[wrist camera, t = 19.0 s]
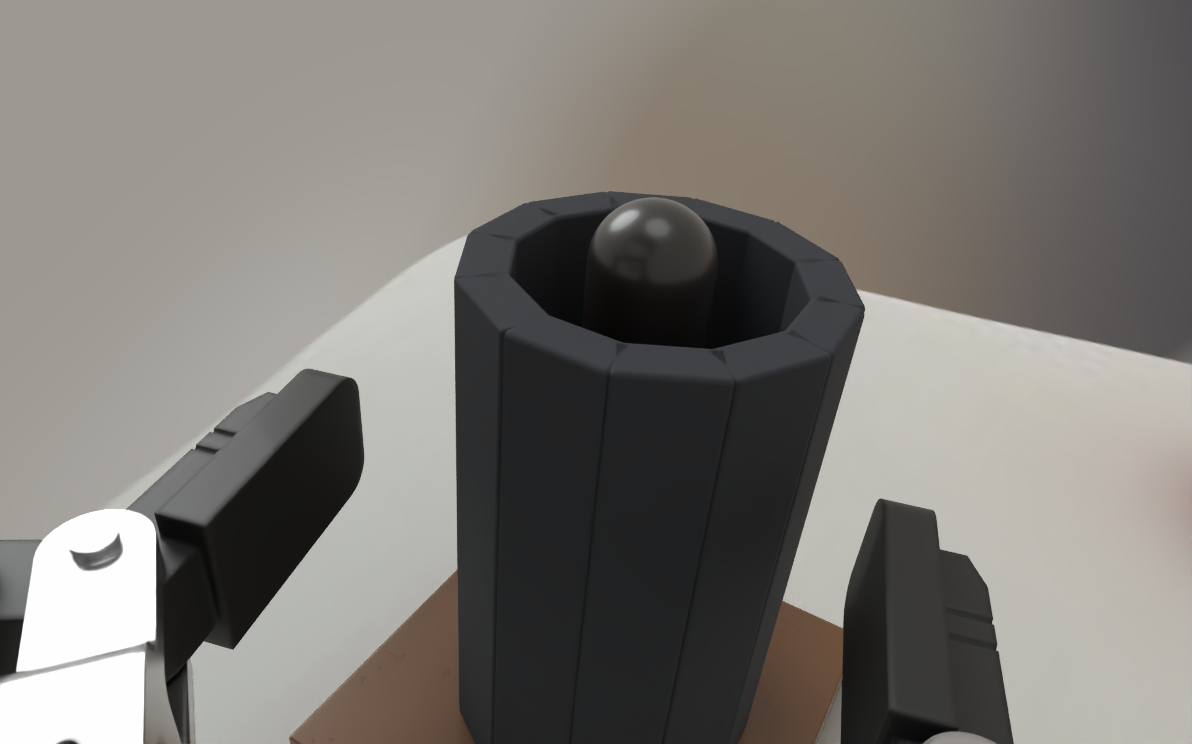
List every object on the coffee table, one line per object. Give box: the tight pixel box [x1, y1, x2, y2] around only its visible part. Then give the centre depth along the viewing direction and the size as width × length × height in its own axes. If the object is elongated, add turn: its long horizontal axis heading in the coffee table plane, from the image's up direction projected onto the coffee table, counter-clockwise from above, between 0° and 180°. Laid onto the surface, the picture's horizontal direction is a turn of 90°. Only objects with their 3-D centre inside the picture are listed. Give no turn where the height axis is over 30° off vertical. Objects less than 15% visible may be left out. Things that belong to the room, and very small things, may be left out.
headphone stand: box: [289, 197, 843, 744], centre depth 16 cm, size 9×9×12 cm
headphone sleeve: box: [454, 192, 865, 744], centre depth 16 cm, size 6×6×10 cm
